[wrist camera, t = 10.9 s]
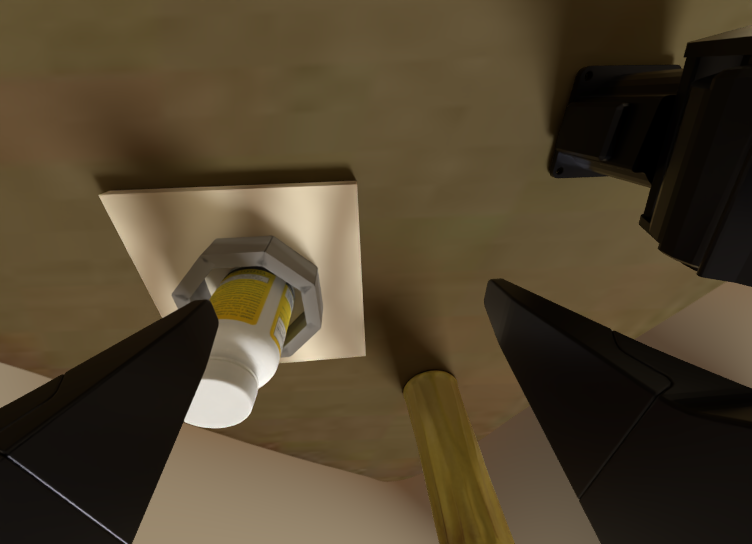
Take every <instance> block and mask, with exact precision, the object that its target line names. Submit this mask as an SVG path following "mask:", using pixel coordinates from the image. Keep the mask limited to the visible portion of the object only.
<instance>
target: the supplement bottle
mask: <svg viewBox="0 0 752 544" xmlns="http://www.w3.org/2000/svg"><path fill="white" fill-rule="evenodd" d="M209 300H210V301H211V303H212V305H213V308H214V310H215V312H216V315H217V317H218V320H219V326H218V330H217V333H216V337H215V340H214V343H213V347H212V350H211V354H210V357H209V360H208V363H207V366H206V369H205V372H204V374H203V377H202V379H201V382H200V384H199V386H198V389H197V391H196V393H195V396H194V398H193V401H192V403H191V405H190V408H189V410H188V412H187V415H186V417H185V419H184V422H186V423H189V424H192V425H195V426H199V427H205V428H224V427H229V426H233V425H236V424H238V423H240V422H242V421H243V420H245V419H246V418H247V417H248V416H249V414H250V413H251V411H252V408H253V405H254V402H255V399H256V396H257V392H258V388H260V387H261V386H263V385H264V384H266V383H267V382H268V381H269V380H270V379H271V378H272V376H273V375H274V373H275V372H276V369H277V366H278V364H279V360H280V356H281V352H282V348H283V344H284V341H285V337H286V333H287V329H288V325H289V321H290V317H291V313H292V309H293V305H294V300H295V292H294V288H293V286H292V285H290V284H289V283H287V282H286V281H284V280H283V279H281V278H280V277H278V276H277V275H275V274H274V273H272V272H270V271H269V270H267V269H266V268H264V267H263V266H249V267H236V268H234V269H233V270H231V271H230V272H229V273H228V274H227V275H226V276H225V278H224V279H223V280H222V282H221V283H220V284H219V286H218V287H217V289H216V290H215V292H214V293H213V295H212V296H211V298H210V299H209Z"/></svg>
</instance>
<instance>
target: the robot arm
mask: <svg viewBox="0 0 752 544" xmlns="http://www.w3.org/2000/svg"><path fill="white" fill-rule="evenodd" d="M684 57H687V58H686V61H685V65H684V69H681V67H680V65H620V66H587V67H583V68H582V69H581V70H580V71H579V72H578V74H577V76H576V79H575V83H574V86H573V90H572V93H571V97H570V100H569V104H568V107H567V108H566V112H565V115H564V119H563V122H562V126H561V130H560V133H559V137H558V140H557V144H556V150H555V153H554V157H553V160H552V164H551V167H550V172H549V173H550V175H551V176H552V177H554V178H577V177H601V176H611V177H614V178H618V179H621V180H625V181H628V182H632V183H635V184H639V185H642V186H646V187H649V188H651V189H650V192H649V196H648V200H647V203H646V207H645V211H644V214H642V215H641V217H640V220H639V225H640V226H641V227H642V228H643V229H644V230H645V231H646V232H648V233H649V234H650V235H651V236H652V237H653V238H654V239H655V240H656V241H657V242H658V243H659V246H658V249H659V250H660V251H661V252H662V253H663V254H665V255H667V256H669V257H671V258H673V259H675V260H677V261H679V262H681V263H682V264H684V265H685V266H687V267H690V268H691V269H693V270H695V271H697V273H696V274H697V275H698V276H700V277H704V278H710V279H716V280H722V281H728V282H735V283H739V284H742V285H746V286H751V287H752V25H750V26H746V27H743V28H739V29H735V30H732V31H728V32H724V33H721V34H717V35H713V36H710V37H706V38H702V39H699V40H695V41H691V42H688V43H687V46H686V50H685V54H684ZM586 73H588V77H587V79H586V80H585V79H584V77H585V74H586ZM558 168H560V170H559V172H558V173H556V171H557V169H558ZM484 305H485V308H486V311H487V314H488V316H489V319H490V322H491V324H492V327H493V330H494V332H495V335H496V338H497V340H498V343H499V345H500V347H501V349H502V351H503V353H504V355H505V357H506V359H507V361H508V363H509V365H510V367H511V369H512V371H513V373H514V375H515V377H516V379H517V381H518V383H519V384H520V386H521V388H522V390H523V392H524V394H525V396H526V398H527V400H528V402H529V404H530V406H531V408H532V410H533V412H534V414H535V416H536V418H537V419H538V421H539V423H540V425H541V427H542V429H543V431H544V433H545V435H546V437H547V439H548V441H549V443H550V445H551V447H552V449H553V451H554V453H555V455H556V456H557V459H558V460H559V462H560V464H561V466H562V468H563V470H564V472H565V474H566V476H567V478H568V480H569V482H570V484H571V486H572V488H573V490H574V491H575V493H576V495H577V497H578V499H580V500H579V502H580V504H581V506H582V508H583V510H584V512H585V514H586V515H587V517H588V519H589V521H590V523H591V525H592V527H593V529H594V531H595V533H596V535H597V537H598V539H599V541H600V543H601V544H752V388H749V387H746V386H744V385H741V384H739V383H737V382H734V381H732V380H729V379H727V378H724V377H722V376H720V375H717V374H714V373H712V372H710V371H707V370H705V369H702V368H700V367H697V366H695V365H693V364H690V363H688V362H685V361H683V360H680V359H678V358H676V357H673V356H671V355H668V354H666V353H664V352H661V351H659V350H656V349H654V348H652V347H649V346H647V345H645V344H643V343H640V342H638V341H636V340H634V339H632V338H629V337H627V336H625V335H623V334H621V333H619V332H616V331H612V330H611V329H610V328H608V327H606V326H603V325H601V324H599V323H597V322H595V321H593V320H590V319H588V318H586V317H584V316H582V315H580V314H577V313H575V312H573V311H571V310H569V309H567V308H565V307H562V306H560V305H558V304H556V303H554V302H552V301H549V300H547V299H545V298H543V297H541V296H539V295H536V294H534V293H532V292H530V291H528V290H526V289H524V288H521V287H519V286H517V285H515V284H513V283H511V282H508V281H506V280H504V279H490V280H489V281H488V283H487V288H486V293H485V298H484ZM218 326H219V320H218V317H217V315H216V312H215V310H214V308H213V305H212V303H211V301H210V300H208V299H201V300H194V301H192V302H190V303H188V304H186V305H185V306H183V307H181V308H179V309H178V310H176V311H174V312H172V313H170V314H169V315H167V316H165V317H163V318H161V319H160V320H158V321H156V322H154V323H153V324H151V325H149V326H147V327H145V328H144V329H142V330H140V331H138V332H137V333H135V334H133V335H131V336H129V337H128V338H126V339H124V340H122V341H121V342H119V343H117V344H115V345H113V346H112V347H110V348H108V349H106V350H105V351H103V352H101V353H99V354H97V355H96V356H94V357H92V358H90V359H89V360H87V361H85V362H83V363H81V364H80V365H78V366H76V367H74V368H73V369H71V370H69V371H67V372H66V373H65V375H64V374H62V375H60V376H58V377H56V378H55V379H53V380H51V381H49V382H47V383H46V384H44V385H42V386H41V387H38V388H37V389H35V390H33V391H31V392H29V393H28V394H26V395H24V396H22V397H20V398H18V399H17V400H15V401H13V402H11V403H9V404H7V405H5V406H3V407H1V408H0V544H132V542H133V540H134V538H135V535H136V533H137V531H138V528H139V526H140V523H141V521H142V519H143V516H144V514H145V512H146V509H147V507H148V504H149V502H150V500H151V497H152V495H153V493H154V490H155V488H156V486H157V483H158V481H159V479H160V476H161V474H162V471H163V469H164V467H165V464H166V462H167V460H168V457H169V455H170V453H171V450H172V448H173V445H174V443H175V441H176V438H177V436H178V434H179V431H180V429H181V427H182V424H183V422H184V419H185V417H186V415H187V412H188V410H189V408H190V405H191V403H192V401H193V398H194V396H195V393H196V391H197V389H198V386H199V384H200V382H201V379H202V377H203V374H204V372H205V369H206V366H207V363H208V360H209V357H210V354H211V350H212V347H213V343H214V340H215V337H216V333H217V330H218Z"/></svg>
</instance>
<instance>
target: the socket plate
mask: <svg viewBox="0 0 752 544" xmlns="http://www.w3.org/2000/svg"><path fill="white" fill-rule="evenodd" d="M99 197H100V199H101V201H102V203H103V205H104V207H105V208H106V210H107V212H108V214H109V216H110V218H111V220H112V222H113V224H114V226H115V228H116V230H117V232H118V234H119V235H120V237H121V239H122V241H123V243H124V245H125V247H126V249H127V251H128V253H129V255H130V257H131V259H132V260H133V262H134V264H135V266H136V268H137V270H138V272H139V274H140V276H141V278H142V280H143V282H144V284H145V286H146V287H147V289H148V291H149V293H150V295H151V297H152V299H153V301H154V303H155V305H156V307H157V309H158V311H159V312H160V314H161V316H162V318H163V317H165V316H167V315H169V314H170V313H172V312H174V311H176V310H178V309H179V308H181V307H183V306H185V305H186V304H188V303H190V302H192V301H194V300H201V299H208V300H209V299H210V298H211V296H212V295H213V293H214V292H215V290H216V289H217V287H218V286H219V284H220V283H221V282H222V280H223V279H224V278H225V276H226V275H227V274H228V273H229V272H230V271H231V270H233V269H234V268H236V267H249V266H263V267H264V268H266V269H267V270H269V271H270V272H272V273H274V274H275V275H277V276H278V277H280V278H281V279H283V280H284V281H286V282H287V283H289V284H290V285H292V286H293V288H294V292H295V300H294V305H293V309H292V313H291V317H290V321H289V325H288V329H287V333H286V337H285V341H284V344H283V348H282V352H281V356H280V360H279V363H287V362H299V361H311V360H323V359H335V358H347V357H359V356H366V352H365V332H364V312H363V293H362V273H361V253H360V234H359V214H358V195H357V181H337V182H312V183H287V184H262V185H238V186H213V187H188V188H163V189H138V190H113V191H108V192H105V193H102V194H100V195H99Z"/></svg>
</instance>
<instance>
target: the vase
mask: <svg viewBox="0 0 752 544" xmlns="http://www.w3.org/2000/svg"><path fill="white" fill-rule="evenodd" d="M403 395H404V398H405V401H406V404H407V408H408V412H409V416H410V420H411V424H412V427H413V431H414V435H415V438H416V442H417V446H418V451H419V456H420V460H421V464H422V469H423V473H424V477H425V482H426V486H427V490H428V496H429V500H430V504H431V509H432V513H433V518H434V523H435V527H436V531H437V536H438V540H439V544H515V543H514V540H513V537H512V535H511V532H510V530H509V527H508V525H507V522H506V519H505V517H504V514H503V511H502V509H501V506H500V503H499V500H498V498H497V495H496V493H495V490H494V488H493V485H492V483H491V480H490V477H489V474H488V471H487V469H486V466H485V463H484V460H483V457H482V454H481V451H480V448H479V445H478V442H477V439H476V437H475V434H474V431H473V429H472V426H471V423H470V420H469V418H468V415H467V413H466V410H465V408H464V405H463V401H462V398H461V395H460V392H459V389H458V384H457V380H456V379H455V378H454V377H453V376H452V375H451V374H449V373H447V372H444V371H438V370H433V371H426V372H423V373H420V374H418V375H416V376H414V377H413V378H412V379H410V380H409V381H408V383H407V384H406V385H405V387H404V391H403Z"/></svg>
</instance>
